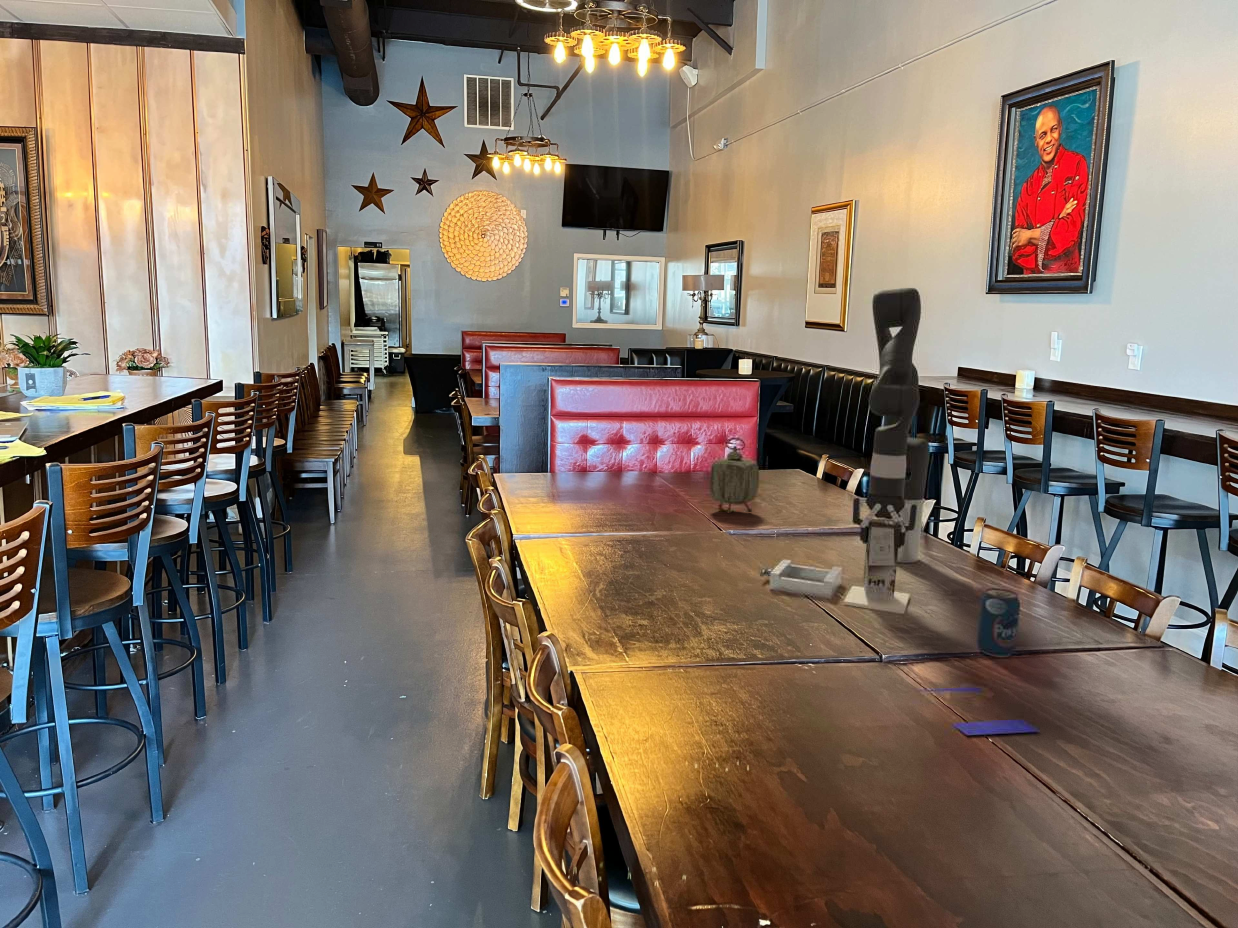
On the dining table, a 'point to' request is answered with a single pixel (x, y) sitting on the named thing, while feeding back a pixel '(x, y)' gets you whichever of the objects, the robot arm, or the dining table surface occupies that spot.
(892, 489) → the robot arm
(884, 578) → the coffee box
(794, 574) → the grey drawer
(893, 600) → the pad
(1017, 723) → the blue strips
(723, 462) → the tabletop clock
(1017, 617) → the soda can
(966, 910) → the dining table surface
